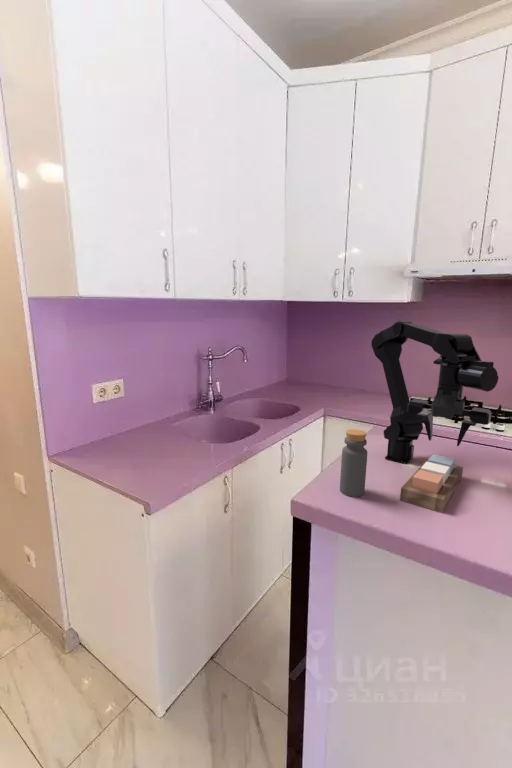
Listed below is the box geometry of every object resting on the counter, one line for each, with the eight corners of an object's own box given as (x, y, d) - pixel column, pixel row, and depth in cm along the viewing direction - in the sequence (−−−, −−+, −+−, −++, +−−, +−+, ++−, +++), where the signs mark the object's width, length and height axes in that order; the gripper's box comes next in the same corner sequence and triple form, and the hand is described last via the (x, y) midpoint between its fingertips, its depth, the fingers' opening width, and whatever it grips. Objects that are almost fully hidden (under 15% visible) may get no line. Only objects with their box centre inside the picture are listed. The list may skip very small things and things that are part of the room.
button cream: (419, 481, 94) (421, 467, 93) (425, 474, 98) (426, 461, 97) (443, 487, 91) (444, 473, 90) (448, 480, 95) (449, 466, 94)
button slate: (426, 472, 99) (428, 459, 99) (431, 466, 104) (433, 454, 103) (449, 478, 96) (450, 465, 95) (453, 471, 100) (455, 458, 100)
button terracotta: (411, 490, 88) (412, 476, 88) (417, 483, 93) (419, 469, 92) (436, 497, 85) (438, 483, 84) (441, 489, 89) (443, 475, 89)
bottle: (365, 488, 94) (369, 430, 91) (363, 498, 88) (368, 437, 86) (341, 484, 96) (344, 427, 93) (338, 494, 90) (342, 433, 87)
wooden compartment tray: (399, 500, 88) (401, 488, 87) (426, 469, 107) (427, 458, 106) (441, 512, 83) (443, 500, 82) (461, 477, 101) (463, 467, 101)
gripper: (403, 383, 95) (397, 442, 98) (490, 393, 84) (480, 460, 87) (415, 378, 104) (409, 433, 106) (495, 387, 93) (486, 448, 95)
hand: (443, 442), depth 98 cm, fingers open, 6 cm apart
